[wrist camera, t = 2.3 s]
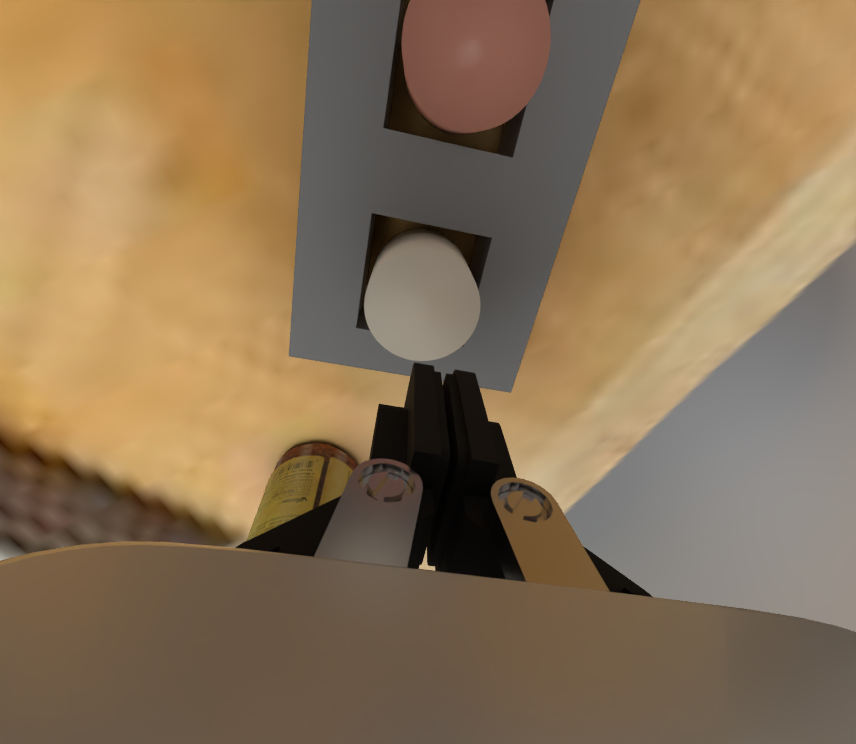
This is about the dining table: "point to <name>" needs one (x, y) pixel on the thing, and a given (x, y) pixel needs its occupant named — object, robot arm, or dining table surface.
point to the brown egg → (474, 60)
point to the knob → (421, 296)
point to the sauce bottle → (302, 484)
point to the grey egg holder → (440, 182)
